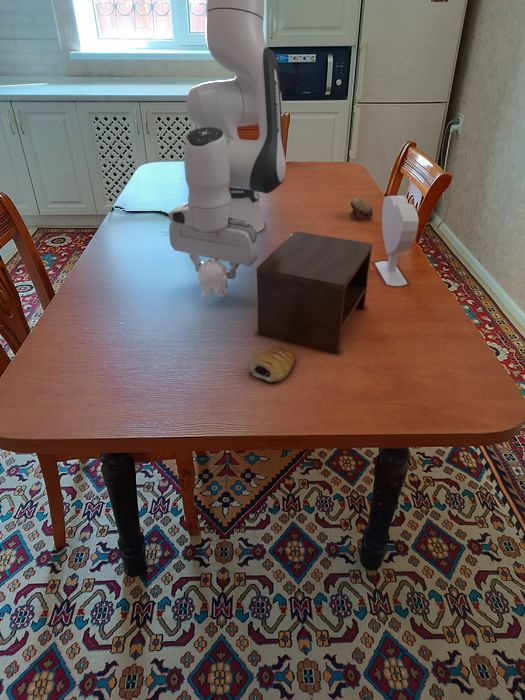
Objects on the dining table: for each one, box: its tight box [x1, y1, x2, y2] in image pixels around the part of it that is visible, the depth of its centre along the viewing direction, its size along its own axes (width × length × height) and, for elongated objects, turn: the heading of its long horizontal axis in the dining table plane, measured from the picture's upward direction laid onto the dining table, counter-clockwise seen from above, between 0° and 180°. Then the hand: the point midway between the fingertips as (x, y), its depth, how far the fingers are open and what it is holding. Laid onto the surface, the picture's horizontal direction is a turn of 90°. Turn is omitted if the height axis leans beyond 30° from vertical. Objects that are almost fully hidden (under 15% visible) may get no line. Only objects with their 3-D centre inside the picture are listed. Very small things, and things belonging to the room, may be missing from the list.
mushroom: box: [348, 197, 374, 220], centre depth 149 cm, size 8×8×6 cm
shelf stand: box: [256, 230, 373, 355], centre depth 99 cm, size 17×19×15 cm
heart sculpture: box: [374, 195, 420, 287], centre depth 115 cm, size 16×5×18 cm, turn 4°
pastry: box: [248, 345, 296, 383], centre depth 90 cm, size 9×7×4 cm
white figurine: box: [197, 258, 229, 298], centre depth 109 cm, size 6×8×12 cm
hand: (215, 274), depth 109 cm, fingers closed on white figurine, 6 cm apart
